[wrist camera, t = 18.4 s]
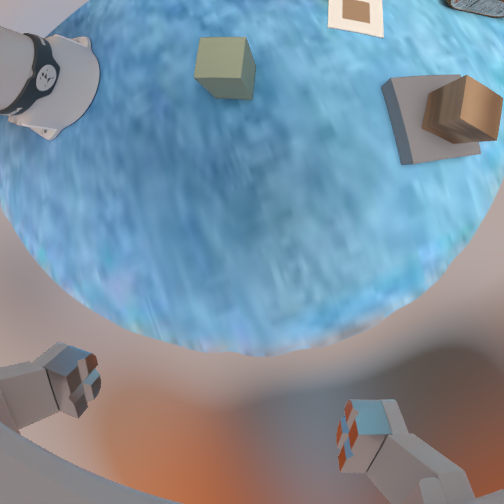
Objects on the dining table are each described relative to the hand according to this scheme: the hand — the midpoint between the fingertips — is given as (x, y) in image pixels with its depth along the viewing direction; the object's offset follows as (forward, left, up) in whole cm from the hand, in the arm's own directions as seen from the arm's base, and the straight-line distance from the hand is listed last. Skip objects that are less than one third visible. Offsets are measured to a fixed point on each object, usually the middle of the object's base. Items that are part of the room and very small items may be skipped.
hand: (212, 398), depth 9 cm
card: (0, +34, -34) cm, 48 cm away
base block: (+15, +22, -34) cm, 43 cm away
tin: (+18, +48, -34) cm, 62 cm away
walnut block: (+15, +22, -30) cm, 39 cm away
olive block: (-12, +16, -34) cm, 40 cm away
